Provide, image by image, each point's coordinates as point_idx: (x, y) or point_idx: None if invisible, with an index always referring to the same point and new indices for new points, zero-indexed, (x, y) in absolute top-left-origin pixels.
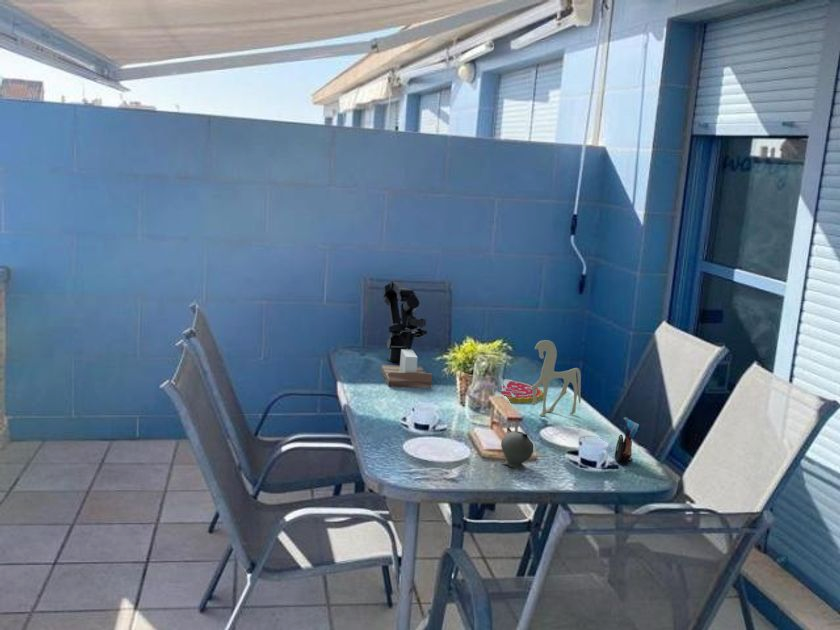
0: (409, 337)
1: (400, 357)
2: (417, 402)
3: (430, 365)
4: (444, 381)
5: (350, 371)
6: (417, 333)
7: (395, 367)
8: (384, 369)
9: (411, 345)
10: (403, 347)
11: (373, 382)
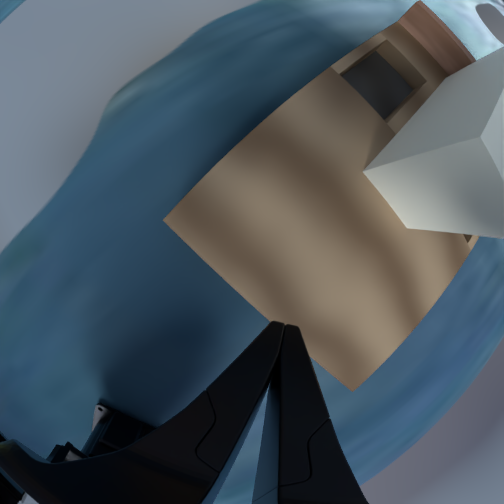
0: (302, 480)
1: (473, 233)
2: (493, 43)
3: (26, 283)
4: (243, 24)
5: (432, 404)
6: (6, 472)
7: (344, 314)
8: (424, 312)
9: (252, 347)
10: (75, 459)
11: (497, 244)
